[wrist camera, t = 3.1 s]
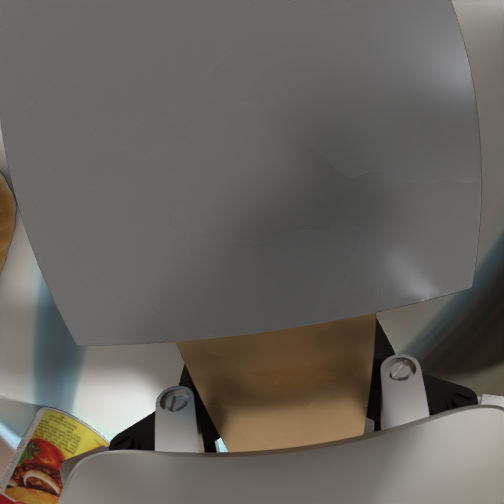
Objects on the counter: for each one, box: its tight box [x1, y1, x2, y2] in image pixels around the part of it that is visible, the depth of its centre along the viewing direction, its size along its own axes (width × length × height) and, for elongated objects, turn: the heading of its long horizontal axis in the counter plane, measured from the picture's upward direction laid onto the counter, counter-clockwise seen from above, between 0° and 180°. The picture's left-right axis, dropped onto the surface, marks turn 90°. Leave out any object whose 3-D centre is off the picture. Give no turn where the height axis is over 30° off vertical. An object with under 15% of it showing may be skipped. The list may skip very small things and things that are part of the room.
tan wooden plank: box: [176, 312, 376, 452], centre depth 9 cm, size 5×20×5 cm, turn 11°
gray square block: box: [0, 0, 482, 346], centre depth 6 cm, size 7×8×7 cm
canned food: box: [0, 407, 110, 504], centre depth 13 cm, size 8×8×12 cm
